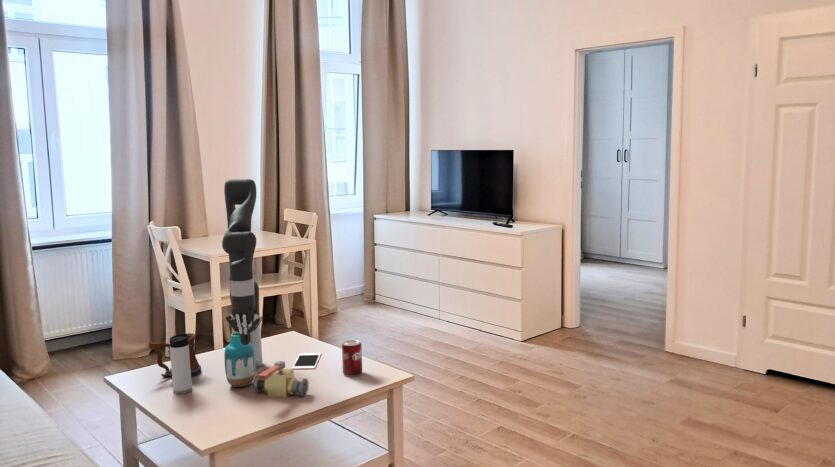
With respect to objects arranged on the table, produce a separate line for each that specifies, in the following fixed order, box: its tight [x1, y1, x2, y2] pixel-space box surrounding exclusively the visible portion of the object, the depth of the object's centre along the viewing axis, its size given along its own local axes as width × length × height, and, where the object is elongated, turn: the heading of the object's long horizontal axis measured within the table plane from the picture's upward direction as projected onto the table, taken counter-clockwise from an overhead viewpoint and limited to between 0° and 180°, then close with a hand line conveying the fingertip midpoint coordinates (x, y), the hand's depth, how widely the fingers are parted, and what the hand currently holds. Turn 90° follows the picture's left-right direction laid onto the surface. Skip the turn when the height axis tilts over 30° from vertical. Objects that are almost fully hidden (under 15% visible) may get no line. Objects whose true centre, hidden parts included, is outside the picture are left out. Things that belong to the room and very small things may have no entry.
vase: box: [223, 331, 256, 388], centre depth 236 cm, size 11×11×19 cm
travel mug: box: [169, 332, 193, 395], centre depth 233 cm, size 6×7×20 cm
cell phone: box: [291, 352, 322, 371], centre depth 262 cm, size 9×18×1 cm, turn 0°
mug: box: [148, 332, 202, 378], centre depth 249 cm, size 18×12×15 cm, turn 121°
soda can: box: [341, 339, 363, 378], centre depth 246 cm, size 7×7×12 cm
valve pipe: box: [252, 368, 309, 399], centre depth 228 cm, size 18×6×9 cm, turn 74°
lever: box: [257, 360, 286, 380], centre depth 223 cm, size 14×4×2 cm, turn 164°
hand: (245, 344), depth 217 cm, fingers closed
